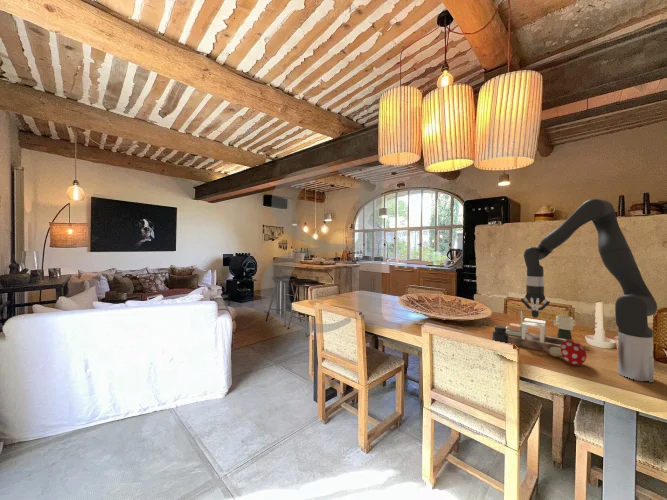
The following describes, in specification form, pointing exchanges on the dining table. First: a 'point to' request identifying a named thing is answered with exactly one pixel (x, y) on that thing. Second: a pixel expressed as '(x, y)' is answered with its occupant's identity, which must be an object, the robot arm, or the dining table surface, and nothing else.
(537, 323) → the tunnel
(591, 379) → the dining table surface
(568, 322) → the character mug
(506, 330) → the sled
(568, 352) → the decorative mushroom
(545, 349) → the track
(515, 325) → the block
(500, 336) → the supplement bottle
